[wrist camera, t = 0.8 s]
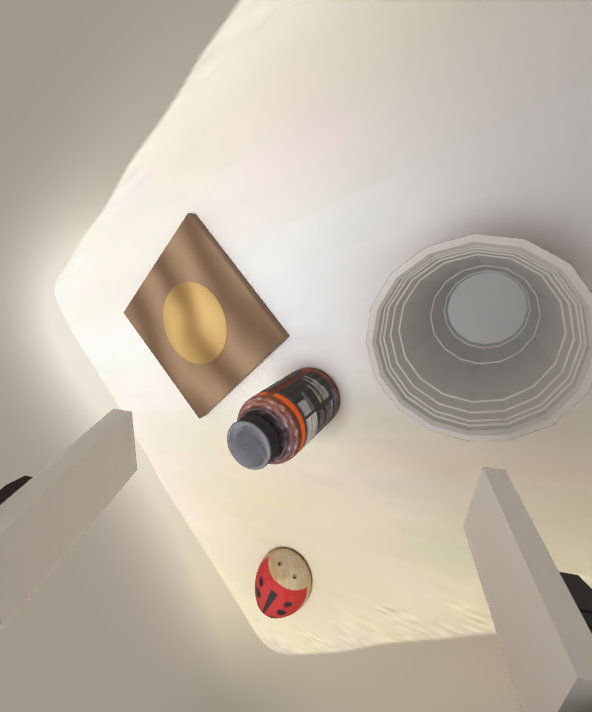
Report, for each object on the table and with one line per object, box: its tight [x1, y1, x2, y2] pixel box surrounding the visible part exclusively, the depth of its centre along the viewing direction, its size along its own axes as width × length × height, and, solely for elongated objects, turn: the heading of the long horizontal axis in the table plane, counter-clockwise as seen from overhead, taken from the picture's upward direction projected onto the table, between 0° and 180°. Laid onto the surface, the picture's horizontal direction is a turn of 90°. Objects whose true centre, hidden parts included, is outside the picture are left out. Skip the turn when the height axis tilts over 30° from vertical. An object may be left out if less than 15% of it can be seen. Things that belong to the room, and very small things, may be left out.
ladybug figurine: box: [255, 549, 311, 618], centre depth 46 cm, size 7×10×4 cm
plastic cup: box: [366, 234, 592, 441], centre depth 25 cm, size 11×11×12 cm
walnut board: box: [124, 213, 289, 419], centre depth 43 cm, size 16×16×1 cm
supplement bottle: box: [227, 368, 339, 470], centre depth 34 cm, size 6×6×11 cm
